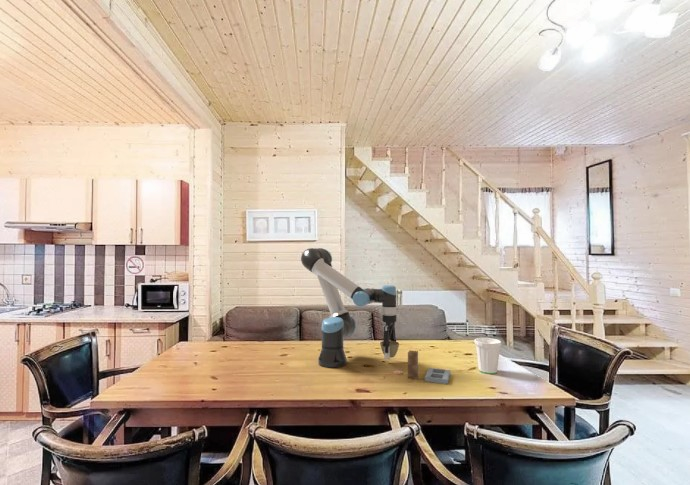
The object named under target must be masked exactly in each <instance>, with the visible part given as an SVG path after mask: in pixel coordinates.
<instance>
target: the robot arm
mask: <svg viewBox="0 0 690 485" xmlns="http://www.w3.org/2000/svg"><path fill="white" fill-rule="evenodd" d="M300 261H301V264H302V265H303V266H304V268H306V270H308V271H309V272H311V273H312V274H314V275H315V276H316V277H317V279H318V282H319V285H320V287H321V290H322V293H323V296H324V299H325V301H326V304H327V307H328V310H329V313H330V316H329V317H327V318H325V319H323V320H322V322H321V349H320V352H319V355H318V360H317V362H318V363H317V364H318V365H319V366H321V367H324V368H340V367H345V366H346V365H347V363H348V362H347V360H348V358H347V357H346V356H347V355H346V353H345V349H344V340H345V339H347V338H350V337H351V336H352V335H353V334H354V333H355V331H356V328H357V322H356V320H355V318H354V317H353V316H351V314H350V312H349V310H346V308H345V306H344V303H343V301H342V298H341V294H340V292H339V291H341V293H343V294H345V296H346V297H349V298H350V299H351V300H352V302H353V303H354V305H356V306H357V307H366V306H367V305H370V304H373V303H375V304H376V303H378V304H382V305H381V306H382V307H381V308H382V309H381V310H382V312H381V313H382V315H381V316H382V317H381V318H382V320H381V321H382V322H383V323H385V325H384V327H383V346H384V354H383V355H384V360H390V359H391V358H390V346H389V343H390V341H396V342H397V338H396V328H395V326H396V325H395V324H396V323H397V311H398V308H397V288H396V286H395V285H385V284H384V285H382V287H381V288H370V287H369V288H362V287H361V286H359V285H358V284H356V283H355V282H354V281H352V280H351V279H349V278H347V276H345V275H344V274H342V273H340V272H339V271H338V270H336V269H335V268H333V265H332V261H333V256H332V253H330V251H329V250H328V249H324V248H322V247H320V248H319V247H318V248H316V247H315V248H312V247H310V248H307V249H305V250H304V251H303V252H302V253H301V256H300Z"/></svg>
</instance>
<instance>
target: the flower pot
mask: <svg viewBox="0 0 690 485" xmlns="http://www.w3.org/2000/svg"><path fill="white" fill-rule="evenodd" d="M389 346H390V359H391V358H395V356H396V355H397V352H398V350H399V347H400V343H399V342H398V341H397V340H396V341H390V343H389ZM380 348H381V351H382V354H383V355H384V346H383V341H380Z"/></svg>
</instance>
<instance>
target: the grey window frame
mask: <svg viewBox="0 0 690 485" xmlns="http://www.w3.org/2000/svg"><path fill="white" fill-rule="evenodd" d="M450 377H451V370H450V369H442V368H434V367H429V368H428V369H427V372H426V374H425V375H424V382H427V383H437V384H441V385H442V384H444V385H448V383H449V380H450Z"/></svg>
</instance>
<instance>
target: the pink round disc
mask: <svg viewBox="0 0 690 485" xmlns="http://www.w3.org/2000/svg"><path fill="white" fill-rule="evenodd" d="M393 374H395V375H402V374H404V371H403V370H393Z"/></svg>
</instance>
